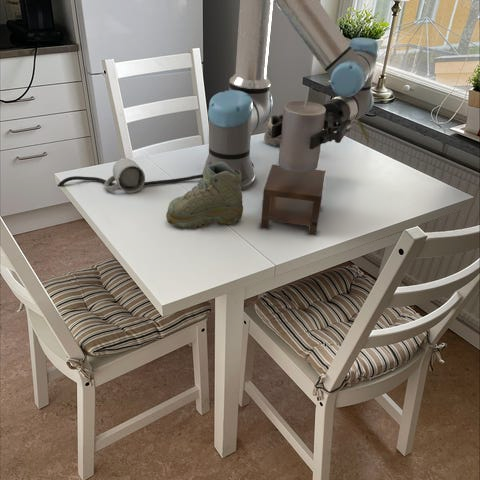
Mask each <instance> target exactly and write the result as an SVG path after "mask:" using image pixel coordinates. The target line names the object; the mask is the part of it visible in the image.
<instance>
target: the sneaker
mask: <svg viewBox="0 0 480 480" xmlns="http://www.w3.org/2000/svg"><path fill="white" fill-rule="evenodd" d="M241 179H242V176H241V173H240V171H239V170H232V169H231V168H230V167H229V166H228V165H227V164H226V163H224V162H217V163H215V164H213V165H207V167H206V172H205V176H204V178H200V181H199V182H198V183H197V184H196V185H194V186H193V187H192V188H191V190H189V191H187V192H186V193H184V194H183V195H182V196H181V195H180V196H178V197H175V198H173V199H172V200H171V201H170V202H169V203H168V206H167V210H166V213H165V217H166V221H167V223H169V224H171V225H172V226H174V227H176V228H180V229H182V228H184V229H190V228H191V229H195V228H202V227H204V226H205V227H206V226H207V225H209V224H210V223H212V222H216V223H217V224H218V225H222V226H223V225H226V226H228V225H235V224H237V223H239V221H240V220H241V219H242V217H243V213H244V205H243V201H244V200H243V192H242V190H241V185H240V182H241Z"/></svg>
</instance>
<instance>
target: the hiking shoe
mask: <svg viewBox="0 0 480 480" xmlns="http://www.w3.org/2000/svg"><path fill="white" fill-rule="evenodd" d="M278 122H279V115H270V116H269V118H268V119H267V124H266V128H265V133H264V134H263V140H264V142H265V143H266V144H269V145H270V146H273V147H277V146H280V141H281V135H280V136H278V137H276V138H271V135H272V126H273V125H275V124H277V123H278Z"/></svg>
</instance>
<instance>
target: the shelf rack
mask: <svg viewBox="0 0 480 480" xmlns="http://www.w3.org/2000/svg"><path fill="white" fill-rule="evenodd" d="M325 177H326V170H323V169H315V170H314V171H311V172H302V173H295V172H290V171H287V170H285V169H283V168H281V167H280V166H279V164H271V167H270V170H269V173H268V176H267V179H266V182H265V184H264V187H263V191H262V192H263V193H262V206H261V207H262V208H261V218H260V219H261V220H260V229H267V230H268V229H269V225H270V222H277V223H285V224H293V225H301V226H309V229H308V235H312V236H316V235H317V230H318V226H319V218H320V211H321V205H322V200H323V199H322V198H323V194H324V193H323V192H324V187H325V186H324V185H325Z"/></svg>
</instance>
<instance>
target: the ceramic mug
mask: <svg viewBox="0 0 480 480" xmlns="http://www.w3.org/2000/svg"><path fill="white" fill-rule="evenodd" d="M105 180H106V182H105V183H103V186H104V188H105V190H106V192H109V193H113V192H115V191H117V190H122V192H125V193H127V194H132V193H137V192H139V191H141V189H142V188H143V187H144V186H143V185H144V183H145V182H146V175H145V172H144V170H143V169H142V167H140V166H139V165H138V164H137V163H136V161H135V160H132V159H131V158H127V157H122V158H120V159H118V160H117V161H115V162H114V164H113V166H112V176H110V177H108V178H107V179H105ZM110 182H112V183H115V182H116V183H115V185H113V186H110V185H109V183H110ZM127 187H132V188H127Z"/></svg>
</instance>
